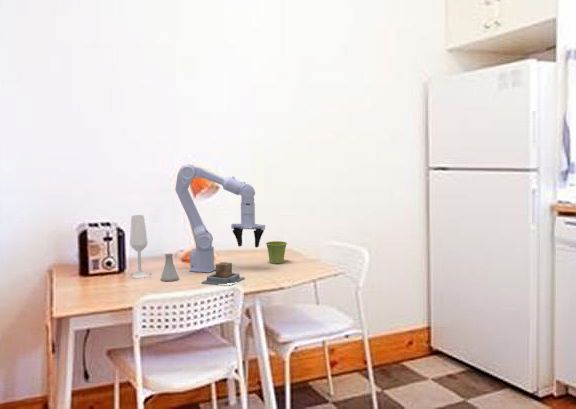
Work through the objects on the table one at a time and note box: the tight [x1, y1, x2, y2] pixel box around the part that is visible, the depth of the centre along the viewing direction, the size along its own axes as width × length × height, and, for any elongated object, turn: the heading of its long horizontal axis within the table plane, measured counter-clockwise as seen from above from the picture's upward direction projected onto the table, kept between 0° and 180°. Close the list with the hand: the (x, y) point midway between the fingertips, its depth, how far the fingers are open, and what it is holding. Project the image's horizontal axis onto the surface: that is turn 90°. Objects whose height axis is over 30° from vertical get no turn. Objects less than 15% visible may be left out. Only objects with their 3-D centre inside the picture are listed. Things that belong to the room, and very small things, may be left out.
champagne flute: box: [129, 214, 149, 279], centre depth 224 cm, size 7×7×24 cm
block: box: [215, 261, 233, 278], centre depth 215 cm, size 4×4×6 cm
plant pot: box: [265, 240, 288, 265], centre depth 248 cm, size 9×9×9 cm
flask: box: [160, 252, 180, 282], centre depth 218 cm, size 7×7×10 cm
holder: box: [201, 272, 245, 286], centre depth 214 cm, size 12×12×2 cm
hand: (248, 246), depth 235 cm, fingers open, 7 cm apart
